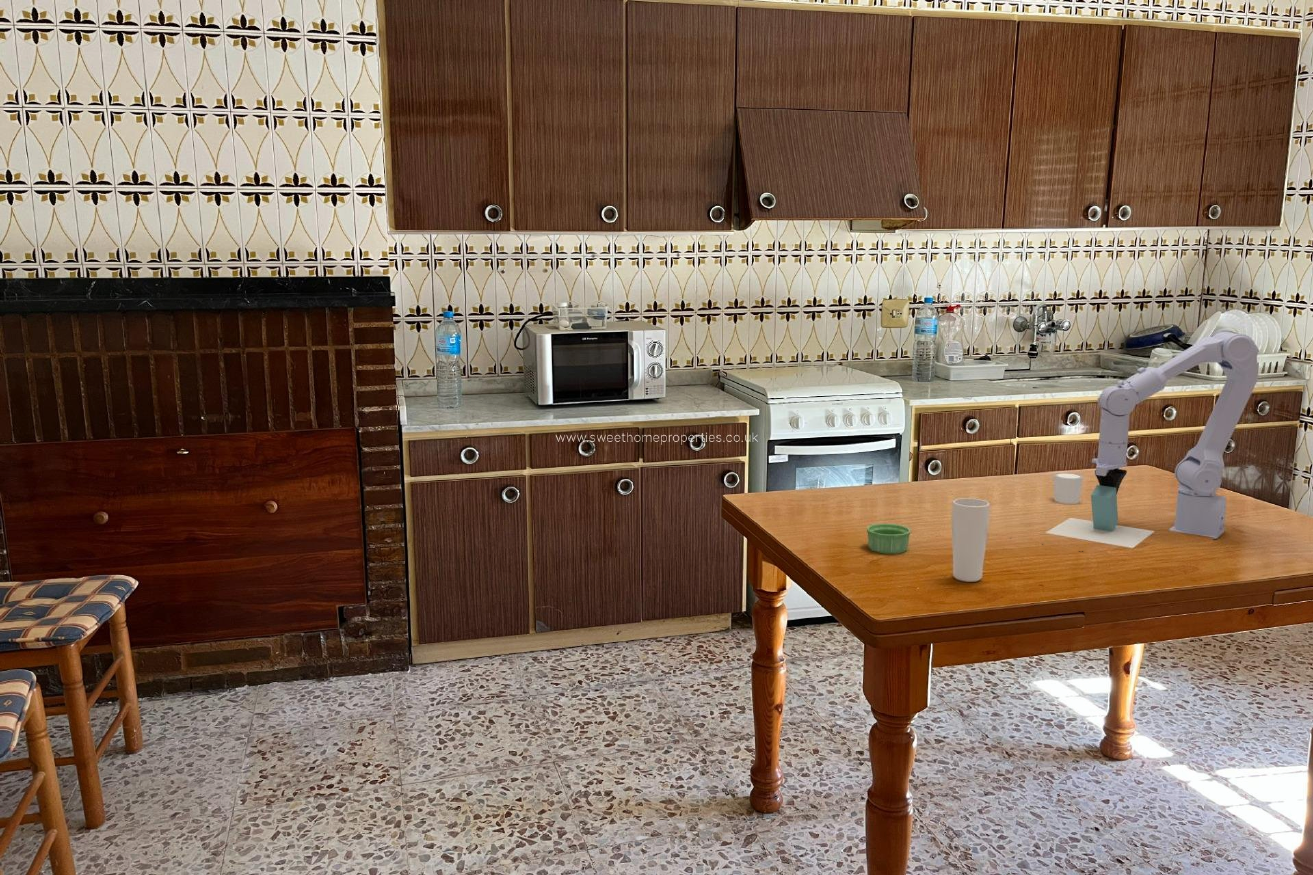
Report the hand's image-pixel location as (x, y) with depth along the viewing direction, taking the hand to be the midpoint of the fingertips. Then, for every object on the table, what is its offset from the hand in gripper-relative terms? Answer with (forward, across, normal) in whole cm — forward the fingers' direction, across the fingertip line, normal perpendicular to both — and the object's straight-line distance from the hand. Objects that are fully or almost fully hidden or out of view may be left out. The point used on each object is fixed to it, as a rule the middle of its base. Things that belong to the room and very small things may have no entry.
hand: (1108, 502), depth 223 cm
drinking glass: (+7, +51, -10) cm, 52 cm away
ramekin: (+7, +43, -31) cm, 53 cm away
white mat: (+6, +5, 0) cm, 8 cm away
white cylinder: (+7, -18, -15) cm, 25 cm away
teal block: (+5, +1, 0) cm, 5 cm away
